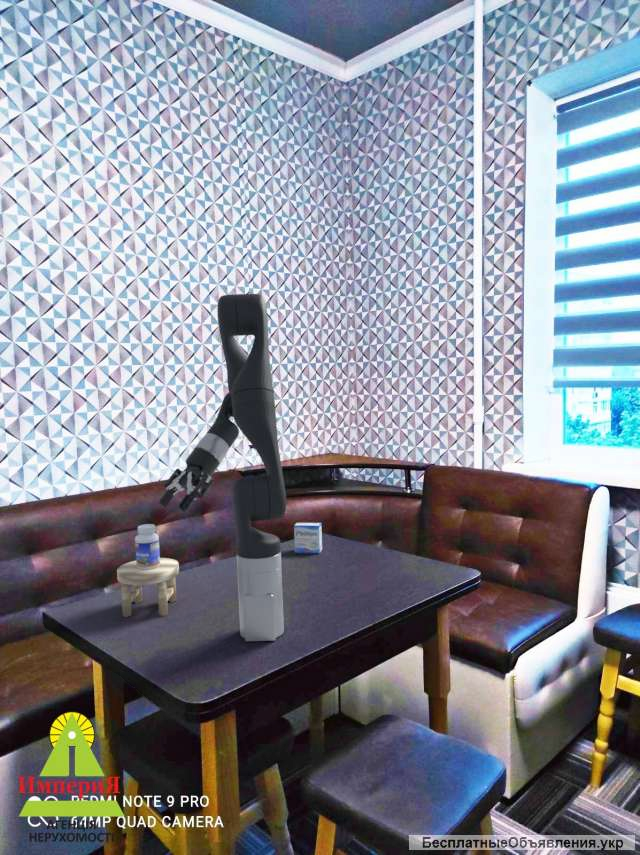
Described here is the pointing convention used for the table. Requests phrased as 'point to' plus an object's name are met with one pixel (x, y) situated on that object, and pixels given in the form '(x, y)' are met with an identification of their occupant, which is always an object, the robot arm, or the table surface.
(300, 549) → the medicine box
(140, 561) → the pill bottle
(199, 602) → the table surface
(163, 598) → the small wooden stool
